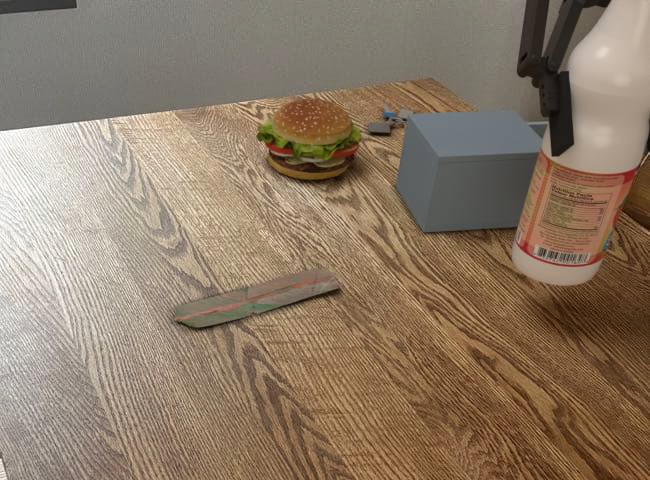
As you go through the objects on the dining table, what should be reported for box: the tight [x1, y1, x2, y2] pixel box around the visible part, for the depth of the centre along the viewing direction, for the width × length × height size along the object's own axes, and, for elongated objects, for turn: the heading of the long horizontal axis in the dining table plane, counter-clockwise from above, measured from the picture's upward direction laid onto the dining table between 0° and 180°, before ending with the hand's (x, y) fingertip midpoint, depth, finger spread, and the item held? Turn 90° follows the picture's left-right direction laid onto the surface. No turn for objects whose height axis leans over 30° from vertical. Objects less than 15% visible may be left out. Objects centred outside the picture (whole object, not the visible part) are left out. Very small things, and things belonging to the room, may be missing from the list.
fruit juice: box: [510, 0, 650, 287], centre depth 79 cm, size 9×9×28 cm
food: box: [256, 97, 363, 181], centre depth 114 cm, size 14×14×8 cm
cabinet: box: [395, 109, 542, 233], centre depth 106 cm, size 15×13×10 cm
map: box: [173, 267, 340, 328], centre depth 93 cm, size 5×20×1 cm, turn 118°
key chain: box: [367, 103, 415, 134], centre depth 127 cm, size 14×8×1 cm, turn 124°
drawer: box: [525, 120, 642, 173], centre depth 108 cm, size 19×11×8 cm, turn 100°
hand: (611, 148), depth 77 cm, fingers closed on fruit juice, 9 cm apart
